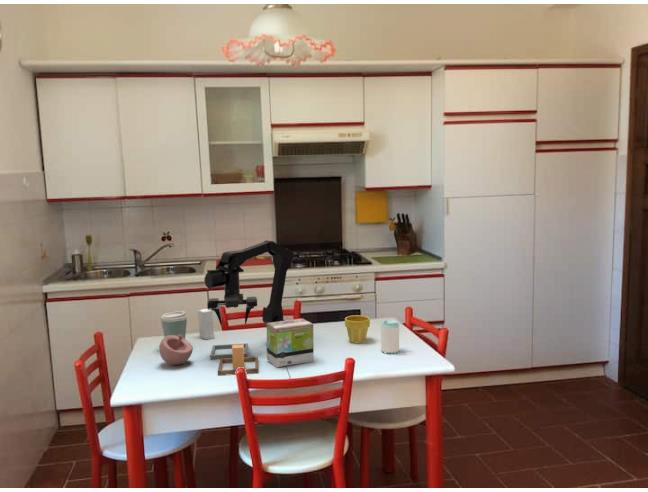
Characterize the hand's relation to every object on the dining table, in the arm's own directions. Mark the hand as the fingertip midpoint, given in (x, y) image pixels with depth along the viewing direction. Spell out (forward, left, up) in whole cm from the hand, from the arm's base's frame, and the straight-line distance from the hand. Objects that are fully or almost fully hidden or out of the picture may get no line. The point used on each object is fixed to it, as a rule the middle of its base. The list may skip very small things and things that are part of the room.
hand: (233, 324), depth 224 cm
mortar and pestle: (+21, +8, -12) cm, 26 cm away
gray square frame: (+2, -2, -12) cm, 12 cm away
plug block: (-2, +16, -12) cm, 20 cm away
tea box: (-21, +12, -12) cm, 27 cm away
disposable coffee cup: (+24, -11, -12) cm, 29 cm away
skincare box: (+13, -26, -12) cm, 32 cm away
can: (-60, +7, -12) cm, 62 cm away
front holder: (-2, +16, -12) cm, 20 cm away
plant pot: (-50, -9, -12) cm, 52 cm away
